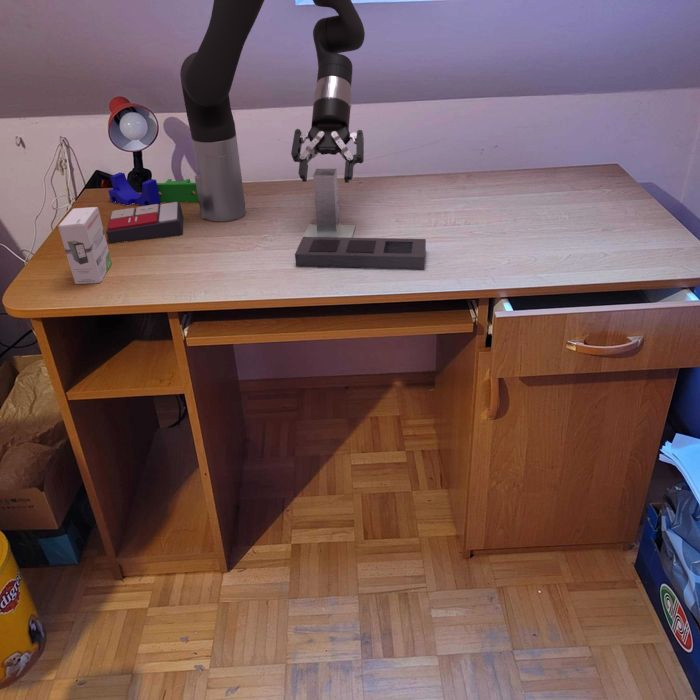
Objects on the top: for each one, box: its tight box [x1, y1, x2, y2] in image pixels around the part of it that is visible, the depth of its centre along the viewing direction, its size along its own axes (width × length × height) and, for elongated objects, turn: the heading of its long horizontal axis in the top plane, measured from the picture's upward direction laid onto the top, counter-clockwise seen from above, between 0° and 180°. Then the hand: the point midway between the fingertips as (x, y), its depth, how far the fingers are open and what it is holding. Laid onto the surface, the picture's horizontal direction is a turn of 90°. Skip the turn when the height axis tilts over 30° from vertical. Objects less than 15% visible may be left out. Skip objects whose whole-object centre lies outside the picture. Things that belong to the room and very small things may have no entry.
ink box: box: [57, 206, 113, 285], centre depth 124 cm, size 9×5×12 cm, turn 2°
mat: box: [302, 224, 356, 238], centre depth 137 cm, size 10×10×1 cm
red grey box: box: [105, 202, 184, 244], centre depth 143 cm, size 11×4×15 cm
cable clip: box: [107, 172, 162, 206], centre depth 156 cm, size 12×4×6 cm, turn 58°
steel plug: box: [312, 168, 340, 237], centre depth 133 cm, size 4×4×13 cm
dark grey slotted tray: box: [294, 236, 427, 270], centre depth 127 cm, size 24×8×3 cm, turn 83°
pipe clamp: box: [157, 178, 199, 203], centre depth 157 cm, size 11×4×5 cm, turn 85°
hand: (325, 180), depth 132 cm, fingers open, 8 cm apart
